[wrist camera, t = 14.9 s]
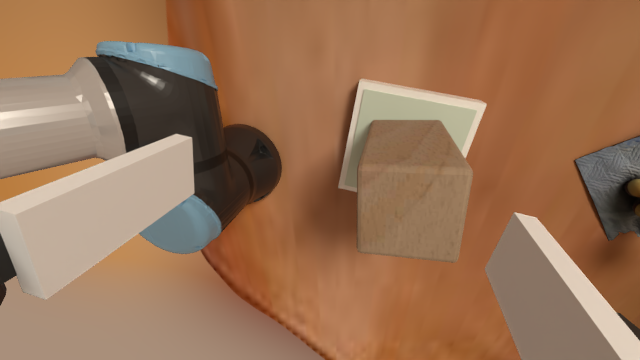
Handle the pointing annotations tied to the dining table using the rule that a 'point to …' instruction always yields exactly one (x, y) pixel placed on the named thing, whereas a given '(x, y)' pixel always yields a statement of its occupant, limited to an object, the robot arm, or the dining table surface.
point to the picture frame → (406, 118)
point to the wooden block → (411, 191)
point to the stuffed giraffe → (615, 185)
